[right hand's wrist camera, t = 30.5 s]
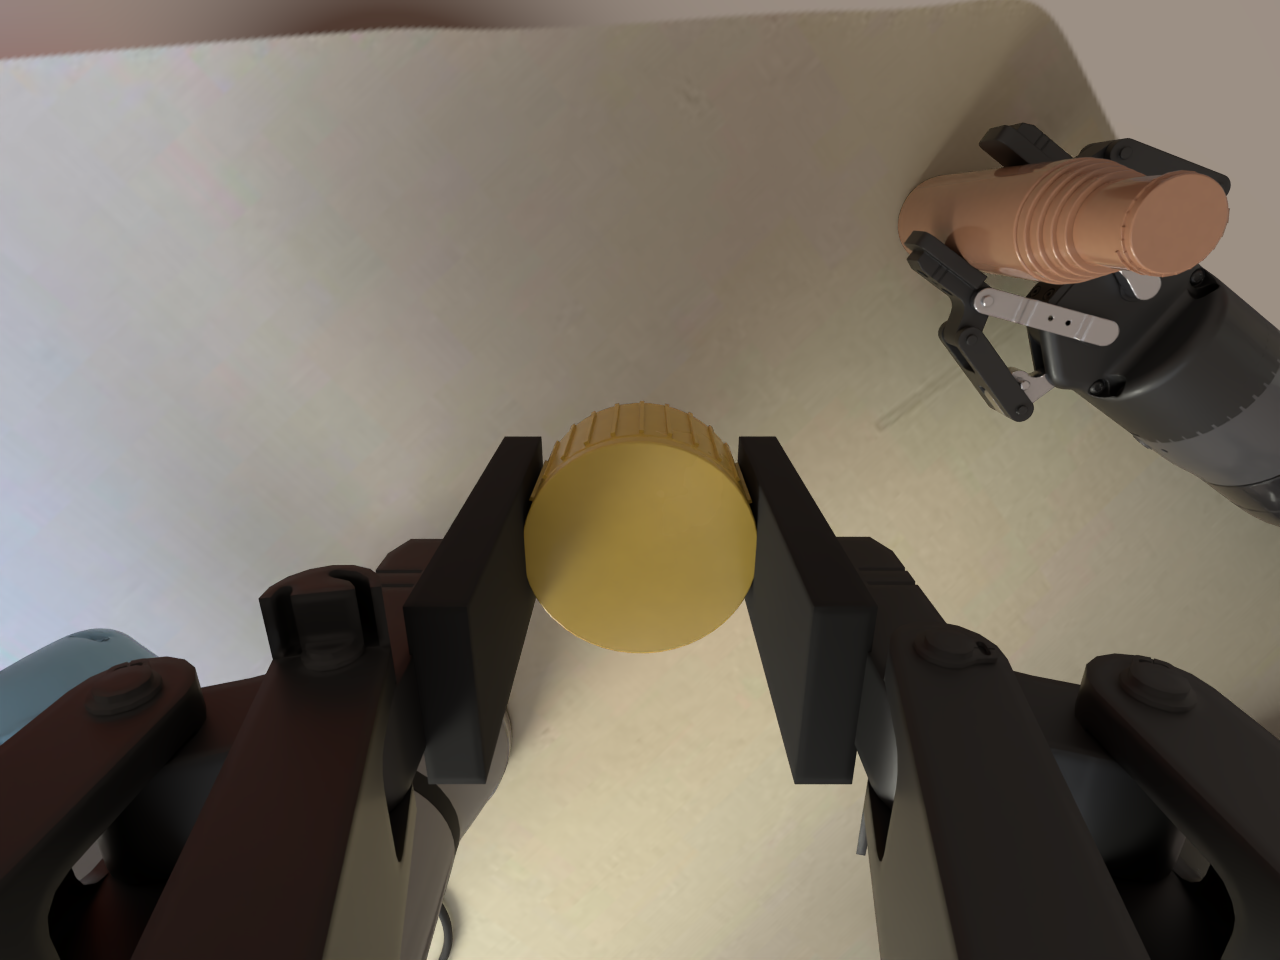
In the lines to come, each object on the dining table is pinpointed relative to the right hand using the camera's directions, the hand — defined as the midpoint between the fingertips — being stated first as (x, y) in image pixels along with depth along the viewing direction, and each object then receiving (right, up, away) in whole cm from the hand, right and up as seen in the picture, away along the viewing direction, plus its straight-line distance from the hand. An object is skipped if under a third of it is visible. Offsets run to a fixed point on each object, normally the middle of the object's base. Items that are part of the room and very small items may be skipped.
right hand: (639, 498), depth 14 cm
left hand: (+15, +14, +17) cm, 27 cm away
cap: (0, -1, -2) cm, 2 cm away
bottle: (+17, +15, +24) cm, 33 cm away
